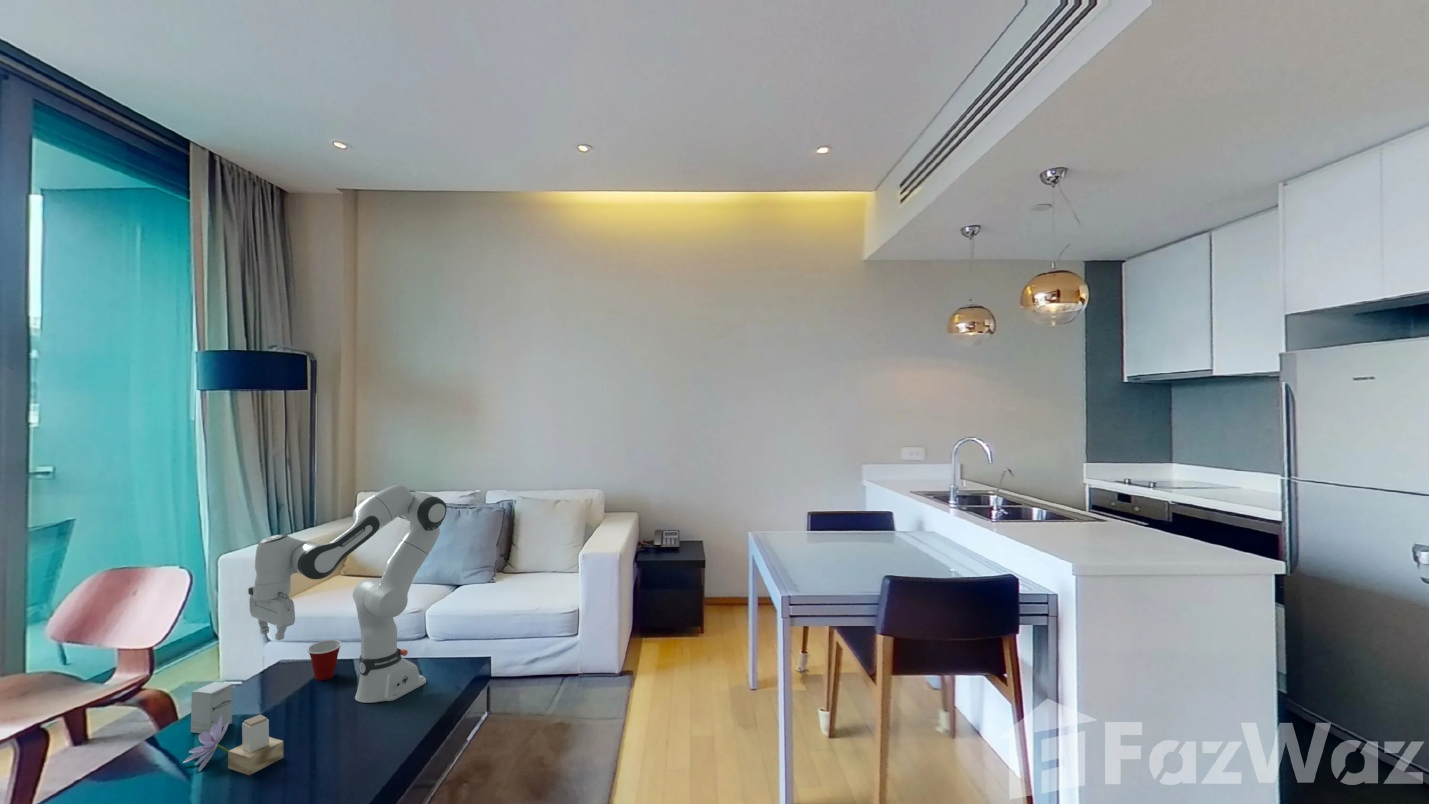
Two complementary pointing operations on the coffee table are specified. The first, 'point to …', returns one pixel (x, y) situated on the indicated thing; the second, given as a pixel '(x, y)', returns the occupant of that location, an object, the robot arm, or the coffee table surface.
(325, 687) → the coffee table surface
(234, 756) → the oak block
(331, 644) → the plastic cup
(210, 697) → the supplement box
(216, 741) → the water lily
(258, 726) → the pale two-tone block
